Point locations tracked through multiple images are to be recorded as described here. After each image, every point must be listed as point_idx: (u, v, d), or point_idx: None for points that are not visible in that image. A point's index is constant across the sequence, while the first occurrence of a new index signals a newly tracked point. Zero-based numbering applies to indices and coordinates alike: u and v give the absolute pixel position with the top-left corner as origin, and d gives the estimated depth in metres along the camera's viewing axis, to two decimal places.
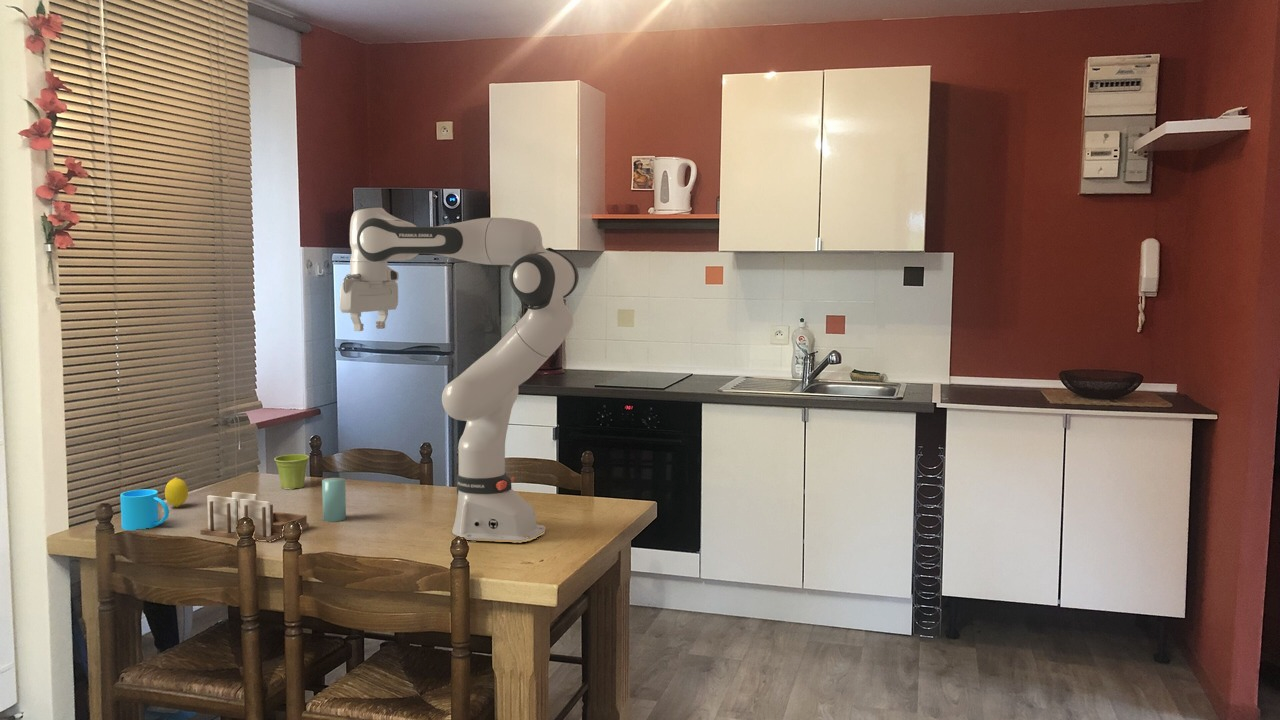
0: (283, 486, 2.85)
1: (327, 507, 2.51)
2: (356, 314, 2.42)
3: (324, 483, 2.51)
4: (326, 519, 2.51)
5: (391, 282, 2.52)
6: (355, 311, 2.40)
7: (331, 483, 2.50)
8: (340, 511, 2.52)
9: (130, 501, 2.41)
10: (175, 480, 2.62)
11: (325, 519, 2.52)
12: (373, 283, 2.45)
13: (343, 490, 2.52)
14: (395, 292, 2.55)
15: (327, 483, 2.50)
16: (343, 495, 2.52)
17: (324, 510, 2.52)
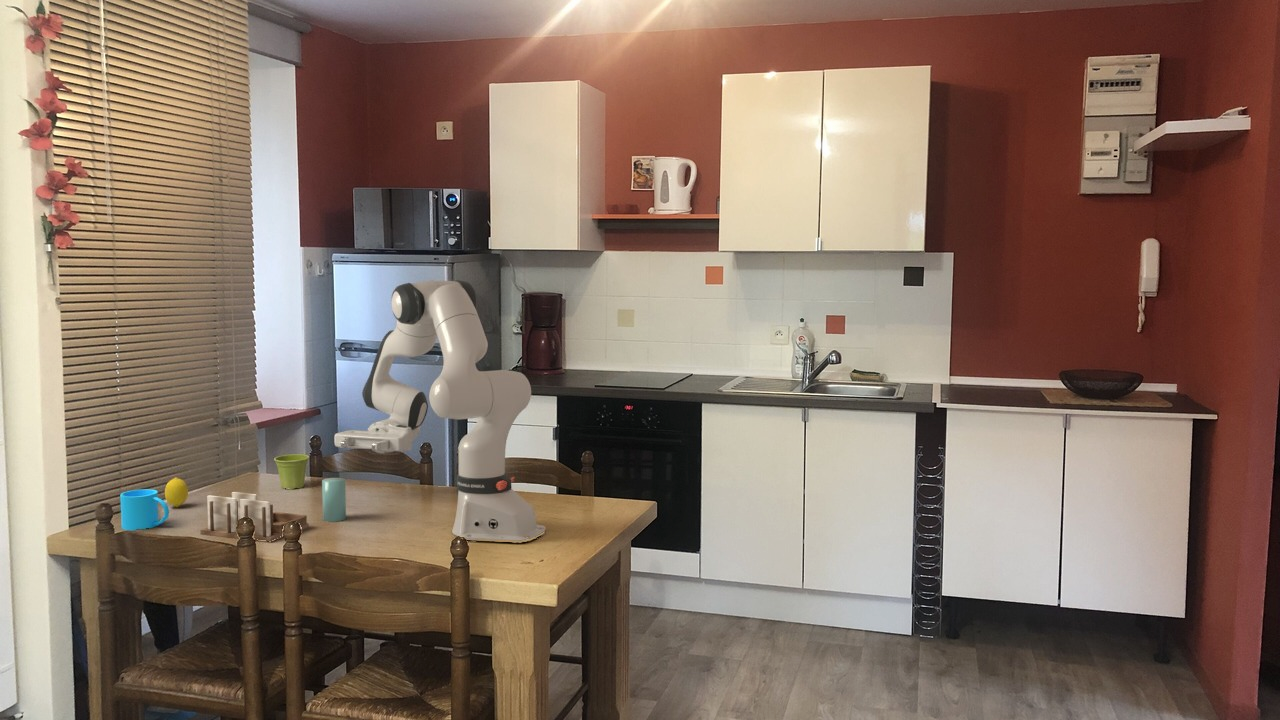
0: (283, 486, 2.85)
1: (327, 507, 2.51)
2: None
3: (324, 483, 2.51)
4: (326, 519, 2.51)
5: (398, 429, 2.74)
6: (338, 434, 2.71)
7: (331, 483, 2.50)
8: (340, 511, 2.52)
9: (130, 501, 2.41)
10: (175, 480, 2.62)
11: (325, 519, 2.52)
12: None
13: (343, 490, 2.52)
14: (403, 434, 2.71)
15: (327, 483, 2.50)
16: (343, 495, 2.52)
17: (324, 510, 2.52)
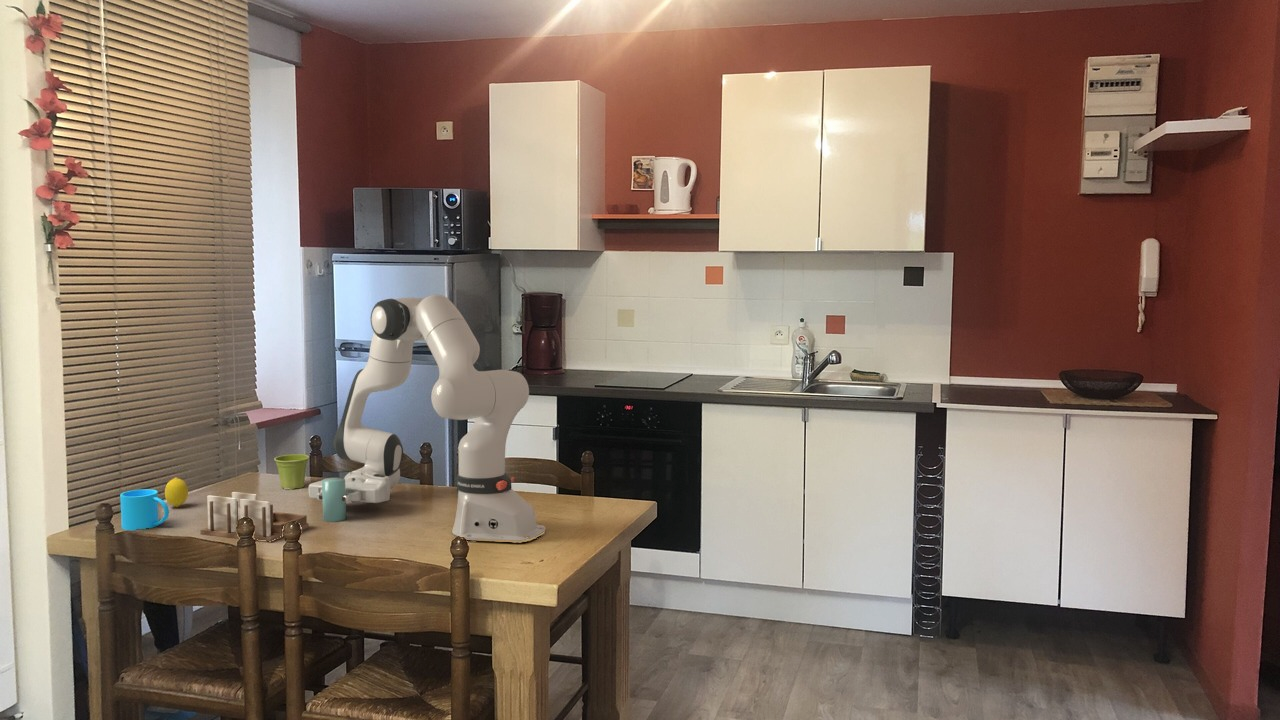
0: (283, 486, 2.85)
1: (327, 507, 2.51)
2: None
3: (324, 483, 2.51)
4: (326, 519, 2.51)
5: (375, 479, 2.62)
6: (313, 485, 2.59)
7: (331, 483, 2.50)
8: (340, 511, 2.52)
9: (129, 501, 2.41)
10: (175, 480, 2.62)
11: (325, 519, 2.52)
12: (349, 478, 2.64)
13: (343, 490, 2.52)
14: (380, 484, 2.59)
15: (327, 483, 2.50)
16: None
17: (324, 510, 2.52)
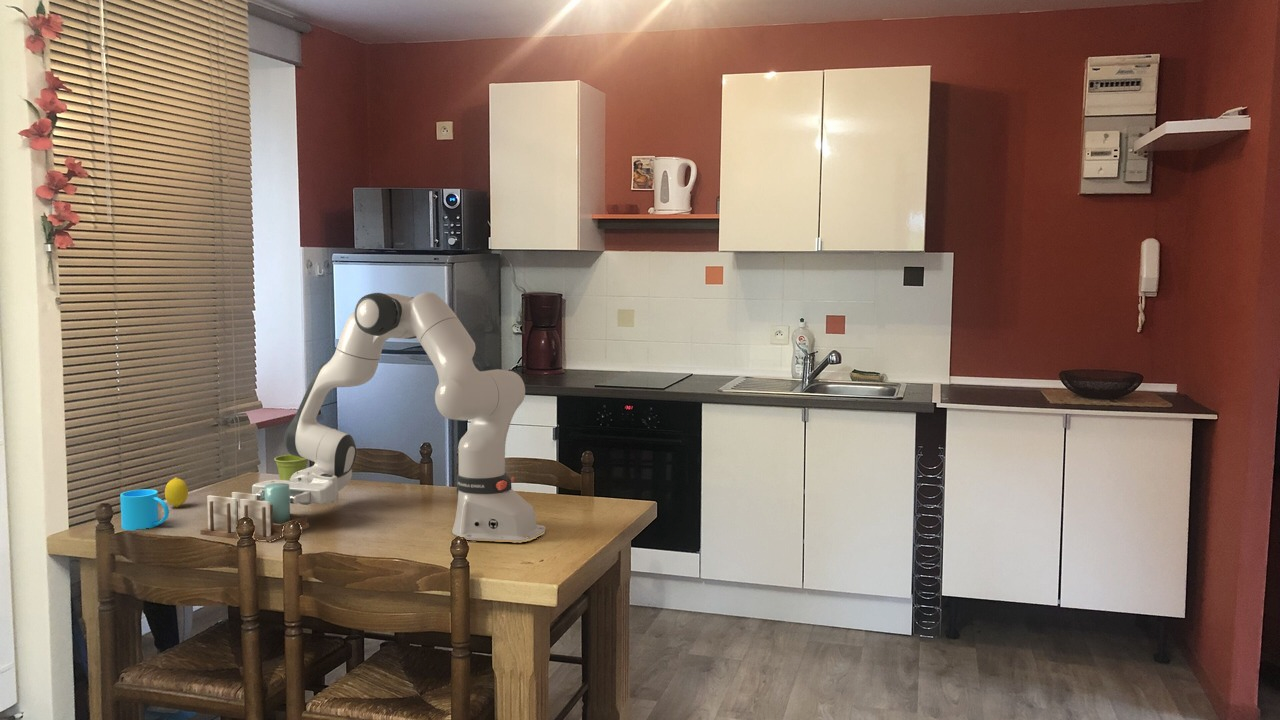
0: None
1: None
2: None
3: (266, 489, 2.39)
4: None
5: (322, 479, 2.51)
6: (256, 485, 2.48)
7: (273, 489, 2.39)
8: (284, 518, 2.41)
9: (130, 501, 2.41)
10: (175, 480, 2.62)
11: None
12: (295, 478, 2.52)
13: (286, 497, 2.41)
14: (326, 484, 2.47)
15: (269, 489, 2.39)
16: (287, 501, 2.41)
17: None
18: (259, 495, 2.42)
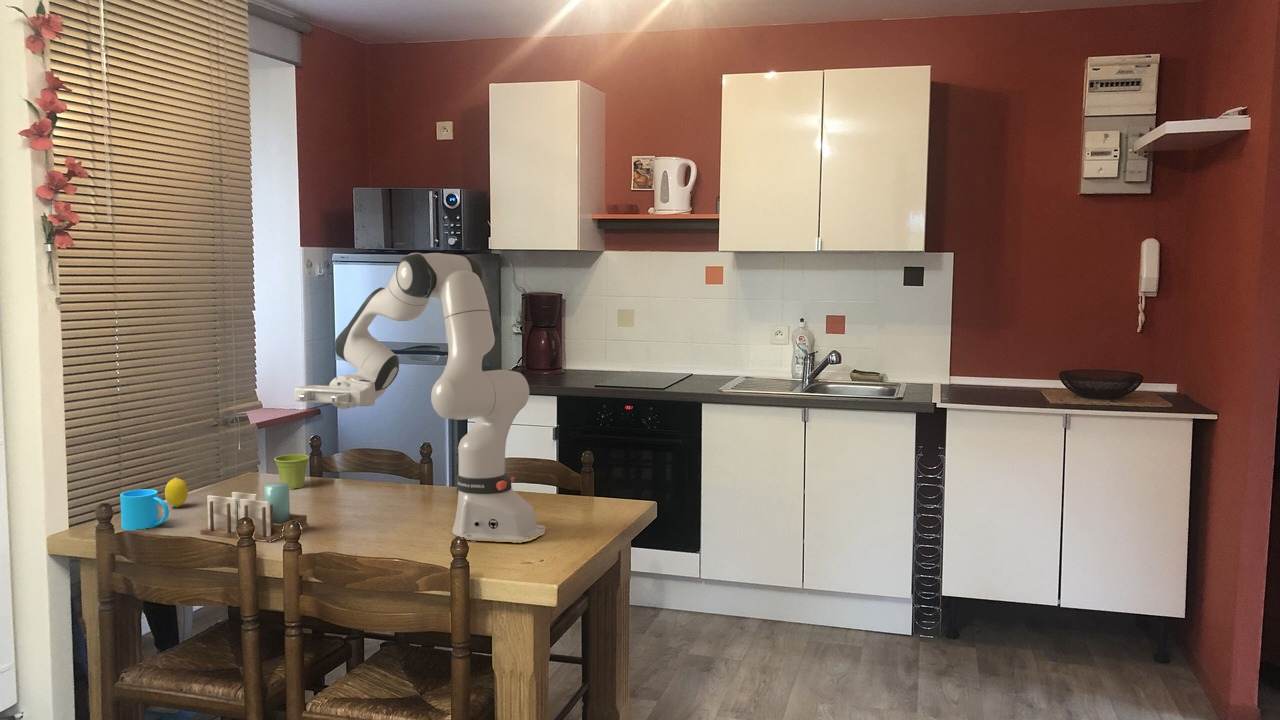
0: None
1: None
2: None
3: (266, 488, 2.40)
4: None
5: (360, 383, 2.64)
6: (298, 388, 2.61)
7: (273, 488, 2.39)
8: (283, 517, 2.40)
9: (129, 501, 2.41)
10: (175, 480, 2.62)
11: None
12: None
13: (286, 496, 2.41)
14: (365, 387, 2.61)
15: (269, 488, 2.39)
16: (286, 501, 2.41)
17: None
18: (302, 395, 2.56)
